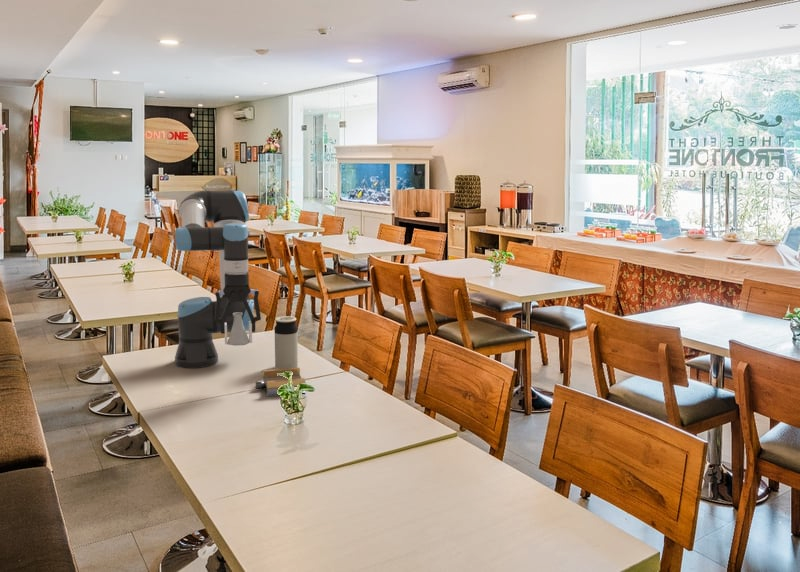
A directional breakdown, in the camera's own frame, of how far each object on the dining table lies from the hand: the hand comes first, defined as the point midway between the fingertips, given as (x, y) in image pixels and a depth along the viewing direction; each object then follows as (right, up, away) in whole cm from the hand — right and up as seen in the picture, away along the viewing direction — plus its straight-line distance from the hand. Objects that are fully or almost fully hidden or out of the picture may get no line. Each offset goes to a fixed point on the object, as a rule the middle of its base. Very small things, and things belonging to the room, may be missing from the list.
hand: (238, 342), depth 223 cm
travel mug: (+12, -11, +24) cm, 29 cm away
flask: (0, -1, 0) cm, 1 cm away
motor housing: (+13, -15, +2) cm, 20 cm away
